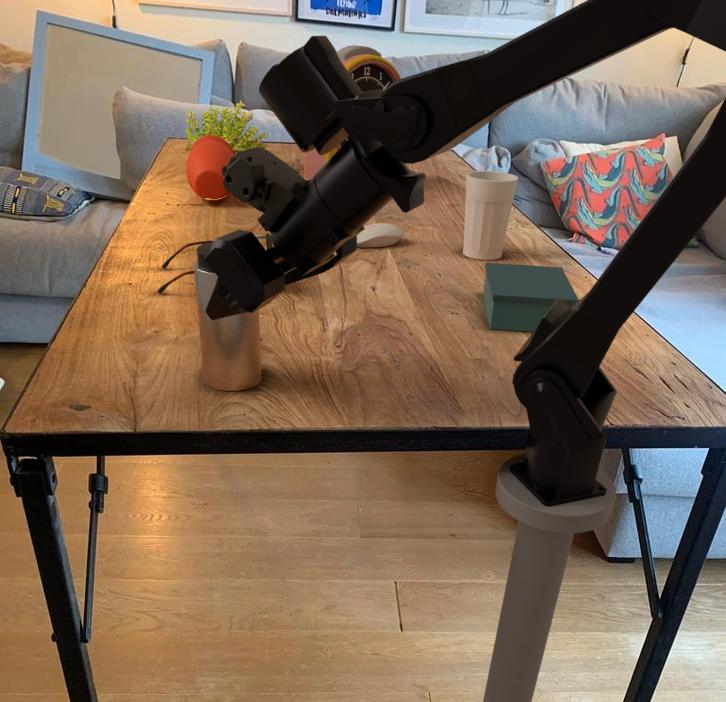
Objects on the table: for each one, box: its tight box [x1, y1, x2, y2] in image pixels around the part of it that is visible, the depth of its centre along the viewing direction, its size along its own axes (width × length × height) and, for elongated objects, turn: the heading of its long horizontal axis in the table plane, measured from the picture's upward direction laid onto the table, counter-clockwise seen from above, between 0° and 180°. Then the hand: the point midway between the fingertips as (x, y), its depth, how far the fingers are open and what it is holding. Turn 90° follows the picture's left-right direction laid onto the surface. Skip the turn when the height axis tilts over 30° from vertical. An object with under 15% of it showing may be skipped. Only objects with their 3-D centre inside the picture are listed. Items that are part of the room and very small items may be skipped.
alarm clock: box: [303, 44, 402, 180], centre depth 152 cm, size 21×9×26 cm, turn 128°
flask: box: [193, 242, 263, 392], centre depth 73 cm, size 6×6×14 cm
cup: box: [462, 170, 519, 261], centre depth 116 cm, size 8×8×12 cm
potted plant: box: [183, 99, 269, 202], centre depth 154 cm, size 19×14×45 cm
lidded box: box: [482, 262, 580, 333], centre depth 95 cm, size 13×11×4 cm
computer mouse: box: [357, 222, 405, 248], centre depth 121 cm, size 6×10×3 cm, turn 112°
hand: (236, 301), depth 71 cm, fingers open, 9 cm apart
